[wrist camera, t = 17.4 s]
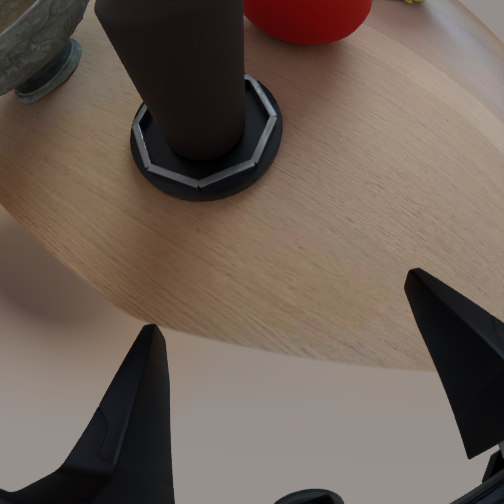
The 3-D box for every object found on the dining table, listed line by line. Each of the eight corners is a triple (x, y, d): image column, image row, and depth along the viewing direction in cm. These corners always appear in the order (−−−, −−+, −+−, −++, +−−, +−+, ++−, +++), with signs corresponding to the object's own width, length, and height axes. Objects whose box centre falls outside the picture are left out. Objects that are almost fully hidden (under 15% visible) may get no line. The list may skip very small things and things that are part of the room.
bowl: (89, 131, 25) (1, 40, 10) (-22, 146, 25) (-96, 102, 10) (142, 4, 27) (112, -82, 12) (32, 32, 27) (-11, -25, 12)
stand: (306, 166, 25) (311, 156, 22) (159, 227, 24) (151, 222, 22) (245, 58, 26) (245, 44, 24) (121, 107, 25) (113, 96, 23)
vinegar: (178, 175, 23) (44, -45, 3) (156, 111, 24) (60, -82, 4) (258, 144, 23) (275, -109, 4) (228, 84, 24) (208, -128, 4)
